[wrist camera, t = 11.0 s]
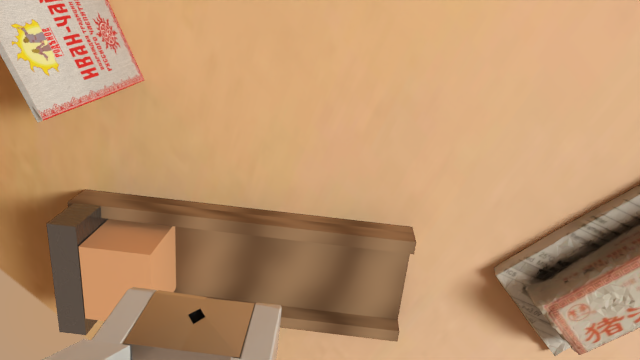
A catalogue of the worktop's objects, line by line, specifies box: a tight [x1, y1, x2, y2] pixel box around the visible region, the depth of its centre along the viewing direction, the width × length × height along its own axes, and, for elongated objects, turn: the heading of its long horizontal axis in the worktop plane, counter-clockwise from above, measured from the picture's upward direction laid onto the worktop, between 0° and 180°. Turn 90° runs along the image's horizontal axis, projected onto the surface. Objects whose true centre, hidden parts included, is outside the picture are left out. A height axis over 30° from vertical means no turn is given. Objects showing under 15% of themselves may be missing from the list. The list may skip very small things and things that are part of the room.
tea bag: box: [0, 0, 144, 122], centre depth 29 cm, size 4×7×10 cm, turn 19°
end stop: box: [47, 203, 108, 335], centre depth 37 cm, size 2×9×5 cm, turn 174°
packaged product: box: [494, 185, 640, 356], centre depth 36 cm, size 18×5×10 cm
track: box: [68, 190, 416, 341], centre depth 38 cm, size 26×9×2 cm, turn 84°
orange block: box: [79, 219, 176, 321], centre depth 37 cm, size 5×6×5 cm
